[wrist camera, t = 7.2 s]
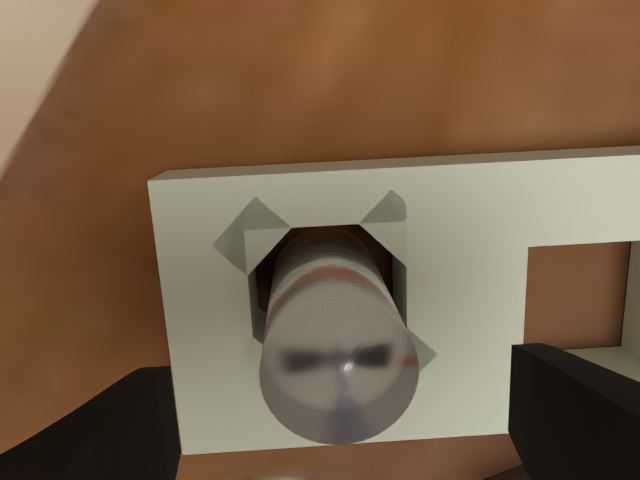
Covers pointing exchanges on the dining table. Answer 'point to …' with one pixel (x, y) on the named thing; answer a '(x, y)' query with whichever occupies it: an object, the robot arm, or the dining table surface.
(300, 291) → the cylinder
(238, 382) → the sage board
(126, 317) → the dining table surface
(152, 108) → the dining table surface
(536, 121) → the dining table surface
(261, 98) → the dining table surface
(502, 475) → the square dark bit
